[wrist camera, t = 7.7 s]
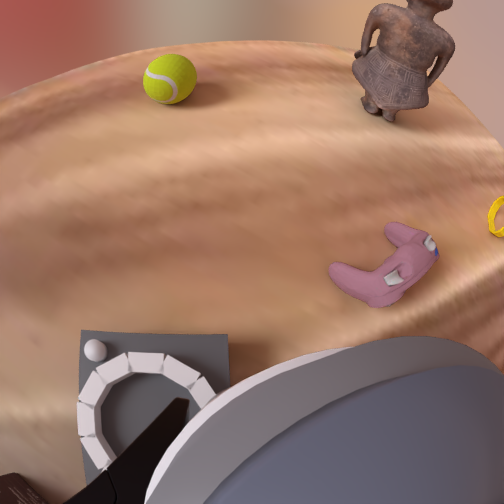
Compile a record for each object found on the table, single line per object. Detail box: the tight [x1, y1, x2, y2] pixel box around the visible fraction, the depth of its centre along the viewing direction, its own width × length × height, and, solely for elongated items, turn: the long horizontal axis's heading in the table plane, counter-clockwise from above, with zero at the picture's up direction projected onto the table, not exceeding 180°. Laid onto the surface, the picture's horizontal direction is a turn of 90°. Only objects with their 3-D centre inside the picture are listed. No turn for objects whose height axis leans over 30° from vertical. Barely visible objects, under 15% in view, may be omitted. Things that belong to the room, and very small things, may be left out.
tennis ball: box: [143, 54, 197, 104], centre depth 31 cm, size 7×7×7 cm
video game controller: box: [329, 222, 439, 308], centre depth 24 cm, size 10×5×7 cm
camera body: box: [77, 330, 230, 485], centre depth 16 cm, size 12×10×5 cm
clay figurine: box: [352, 0, 455, 122], centre depth 28 cm, size 13×10×25 cm
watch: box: [488, 196, 504, 237], centre depth 30 cm, size 6×3×6 cm, turn 158°
